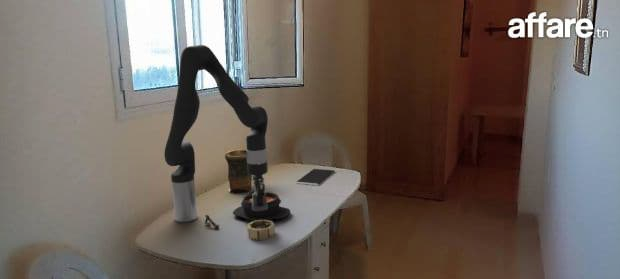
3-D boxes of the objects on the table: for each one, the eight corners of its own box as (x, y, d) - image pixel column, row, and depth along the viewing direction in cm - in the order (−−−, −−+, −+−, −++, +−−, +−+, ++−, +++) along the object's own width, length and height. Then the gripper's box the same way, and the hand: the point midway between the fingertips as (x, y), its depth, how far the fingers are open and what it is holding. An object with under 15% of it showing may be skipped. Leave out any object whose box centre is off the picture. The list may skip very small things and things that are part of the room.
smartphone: (294, 185, 230) (294, 182, 230) (313, 171, 254) (313, 168, 254) (318, 187, 225) (318, 184, 225) (335, 172, 249) (335, 170, 249)
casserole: (296, 210, 193) (295, 192, 191) (282, 226, 175) (281, 207, 173) (243, 206, 199) (242, 188, 198) (225, 222, 182) (224, 202, 180)
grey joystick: (250, 206, 168) (249, 192, 167) (266, 204, 170) (265, 190, 168) (253, 212, 162) (252, 197, 161) (269, 210, 164) (268, 194, 163)
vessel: (258, 185, 229) (256, 148, 224) (252, 195, 215) (249, 156, 210) (231, 185, 230) (228, 148, 225) (224, 195, 216) (220, 156, 212)
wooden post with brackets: (205, 221, 181) (207, 212, 179) (217, 233, 177) (219, 224, 175) (202, 222, 180) (204, 214, 177) (213, 234, 175) (215, 226, 173)
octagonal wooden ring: (246, 231, 171) (245, 221, 171) (271, 227, 174) (270, 218, 174) (250, 241, 162) (249, 231, 161) (276, 237, 165) (276, 227, 164)
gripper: (244, 157, 168) (246, 200, 171) (250, 166, 155) (252, 212, 158) (263, 155, 170) (265, 197, 173) (270, 163, 157) (273, 209, 160)
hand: (259, 204), depth 166 cm, fingers closed on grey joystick
